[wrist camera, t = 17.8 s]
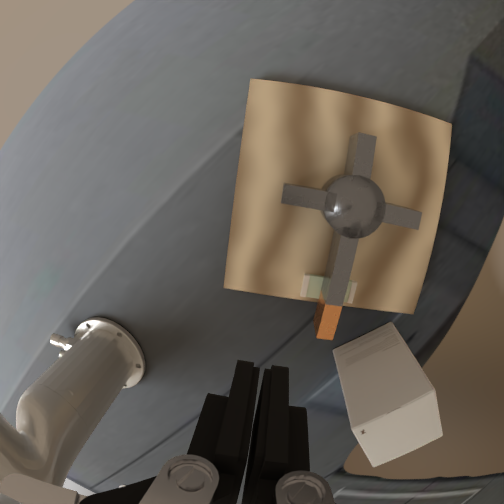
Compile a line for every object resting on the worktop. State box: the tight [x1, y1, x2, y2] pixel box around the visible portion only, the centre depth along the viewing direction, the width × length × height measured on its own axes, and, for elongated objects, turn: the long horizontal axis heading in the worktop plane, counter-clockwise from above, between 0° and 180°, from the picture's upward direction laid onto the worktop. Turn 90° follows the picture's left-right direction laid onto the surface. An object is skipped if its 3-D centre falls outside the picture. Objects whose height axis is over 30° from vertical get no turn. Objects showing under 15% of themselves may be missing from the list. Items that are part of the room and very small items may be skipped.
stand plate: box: [224, 79, 452, 314], centre depth 33 cm, size 24×24×2 cm
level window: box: [300, 273, 357, 304], centre depth 35 cm, size 6×3×1 cm, turn 83°
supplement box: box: [333, 322, 443, 467], centre depth 32 cm, size 9×9×15 cm
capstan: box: [281, 132, 422, 340], centre depth 31 cm, size 21×14×5 cm, turn 172°
